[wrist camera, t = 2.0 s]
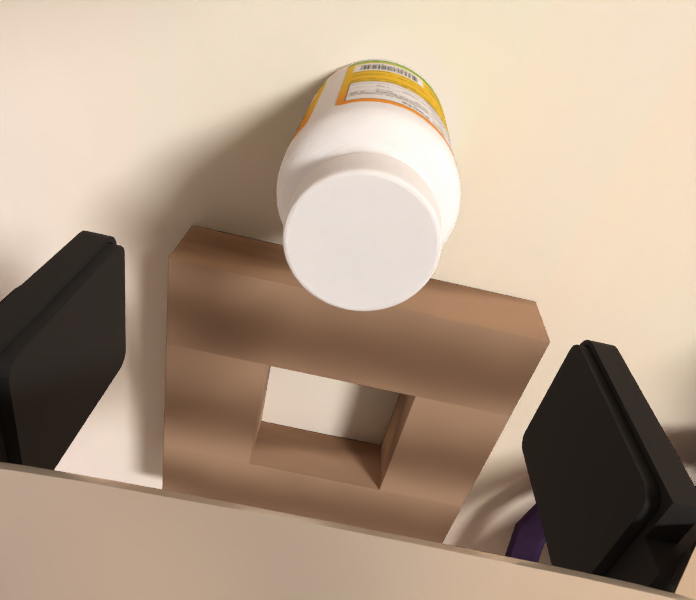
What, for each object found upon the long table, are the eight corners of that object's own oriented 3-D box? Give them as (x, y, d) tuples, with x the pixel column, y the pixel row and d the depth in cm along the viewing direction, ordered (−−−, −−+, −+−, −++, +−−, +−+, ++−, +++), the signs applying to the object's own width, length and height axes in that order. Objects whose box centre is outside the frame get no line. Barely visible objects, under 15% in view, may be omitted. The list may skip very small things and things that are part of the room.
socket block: (191, 225, 25) (168, 258, 22) (535, 301, 25) (549, 342, 23) (179, 456, 34) (162, 498, 31) (434, 507, 34) (436, 552, 32)
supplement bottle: (351, 215, 24) (325, 361, 16) (281, 103, 21) (209, 207, 13) (467, 156, 22) (506, 287, 14) (405, 26, 20) (409, 93, 12)
